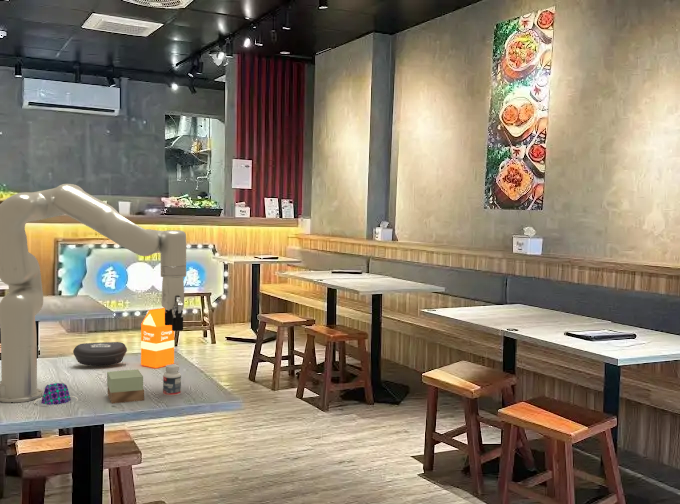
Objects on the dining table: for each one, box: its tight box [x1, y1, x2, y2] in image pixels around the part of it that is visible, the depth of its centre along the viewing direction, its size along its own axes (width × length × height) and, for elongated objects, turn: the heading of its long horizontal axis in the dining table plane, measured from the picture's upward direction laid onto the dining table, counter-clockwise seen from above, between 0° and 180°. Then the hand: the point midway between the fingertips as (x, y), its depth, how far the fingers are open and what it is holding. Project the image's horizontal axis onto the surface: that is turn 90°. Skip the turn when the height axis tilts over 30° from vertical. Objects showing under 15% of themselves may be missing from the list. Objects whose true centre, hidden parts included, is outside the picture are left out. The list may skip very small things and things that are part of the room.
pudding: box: [33, 382, 79, 408], centre depth 206 cm, size 12×12×5 cm
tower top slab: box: [106, 369, 144, 393], centre depth 210 cm, size 9×9×4 cm
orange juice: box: [140, 307, 175, 369], centre depth 254 cm, size 8×9×20 cm
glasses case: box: [72, 341, 128, 367], centre depth 253 cm, size 18×10×8 cm, turn 111°
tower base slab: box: [107, 387, 145, 404], centre depth 211 cm, size 9×9×4 cm
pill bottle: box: [162, 363, 182, 397], centre depth 217 cm, size 5×5×9 cm
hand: (173, 327), depth 216 cm, fingers open, 9 cm apart
